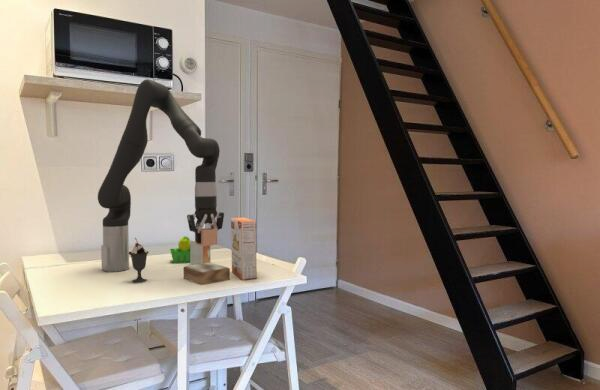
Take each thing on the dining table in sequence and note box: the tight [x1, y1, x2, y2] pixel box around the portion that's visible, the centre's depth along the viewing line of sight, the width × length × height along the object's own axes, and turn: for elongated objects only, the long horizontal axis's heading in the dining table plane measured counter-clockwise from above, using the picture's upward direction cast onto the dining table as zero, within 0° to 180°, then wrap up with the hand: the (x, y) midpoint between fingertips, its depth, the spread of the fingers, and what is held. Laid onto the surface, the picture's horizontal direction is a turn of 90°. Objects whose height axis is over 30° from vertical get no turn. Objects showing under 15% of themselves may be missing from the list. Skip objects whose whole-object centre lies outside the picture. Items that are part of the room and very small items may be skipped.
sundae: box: [129, 237, 150, 284], centre depth 154 cm, size 7×7×15 cm
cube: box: [196, 227, 218, 246], centre depth 157 cm, size 6×6×6 cm
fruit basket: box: [169, 235, 191, 264], centre depth 188 cm, size 11×9×11 cm
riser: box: [183, 261, 231, 286], centre depth 158 cm, size 11×13×4 cm
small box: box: [189, 239, 211, 265], centre depth 182 cm, size 8×6×10 cm
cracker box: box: [230, 216, 258, 281], centre depth 162 cm, size 14×6×21 cm, turn 23°
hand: (206, 242), depth 157 cm, fingers closed on cube, 5 cm apart
